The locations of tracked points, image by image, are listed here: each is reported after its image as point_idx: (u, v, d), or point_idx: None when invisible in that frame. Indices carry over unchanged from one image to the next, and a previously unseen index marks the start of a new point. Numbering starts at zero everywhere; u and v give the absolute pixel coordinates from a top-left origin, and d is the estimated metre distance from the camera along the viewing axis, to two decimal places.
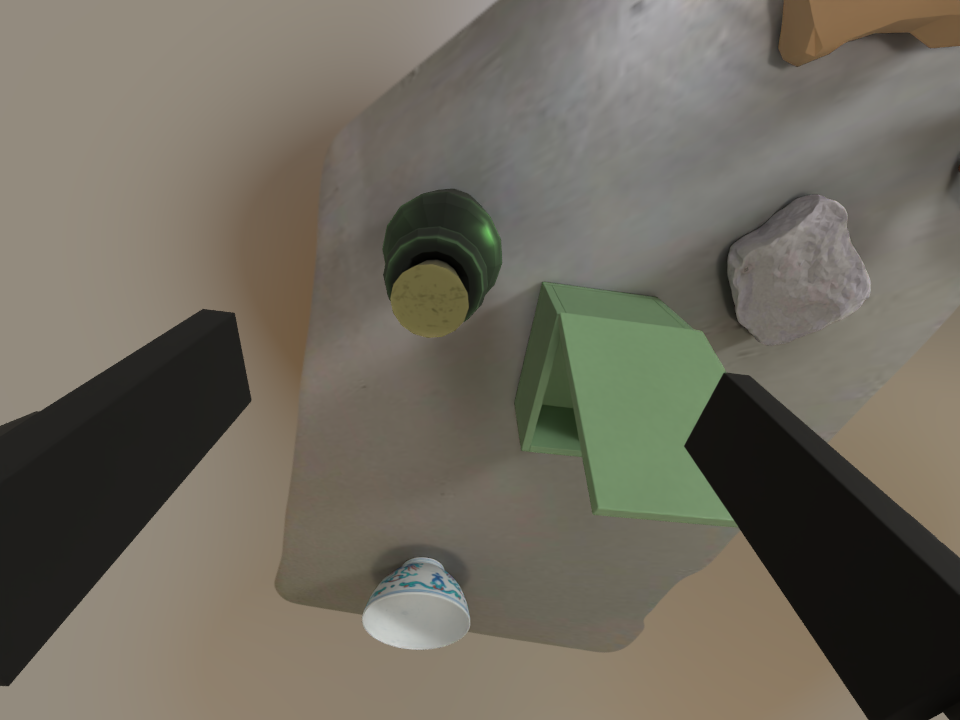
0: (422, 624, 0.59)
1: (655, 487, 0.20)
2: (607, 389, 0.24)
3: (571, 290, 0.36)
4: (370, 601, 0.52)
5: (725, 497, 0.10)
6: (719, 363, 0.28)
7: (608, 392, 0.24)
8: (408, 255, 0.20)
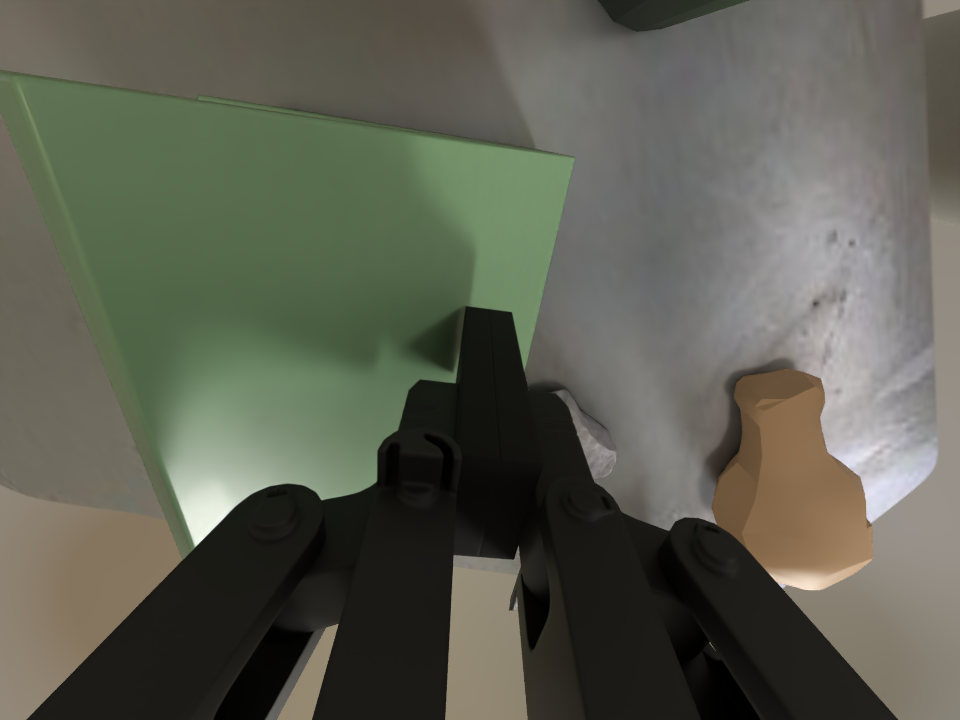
0: None
1: (233, 346, 0.06)
2: (464, 231, 0.11)
3: None
4: None
5: None
6: None
7: (459, 232, 0.10)
8: None
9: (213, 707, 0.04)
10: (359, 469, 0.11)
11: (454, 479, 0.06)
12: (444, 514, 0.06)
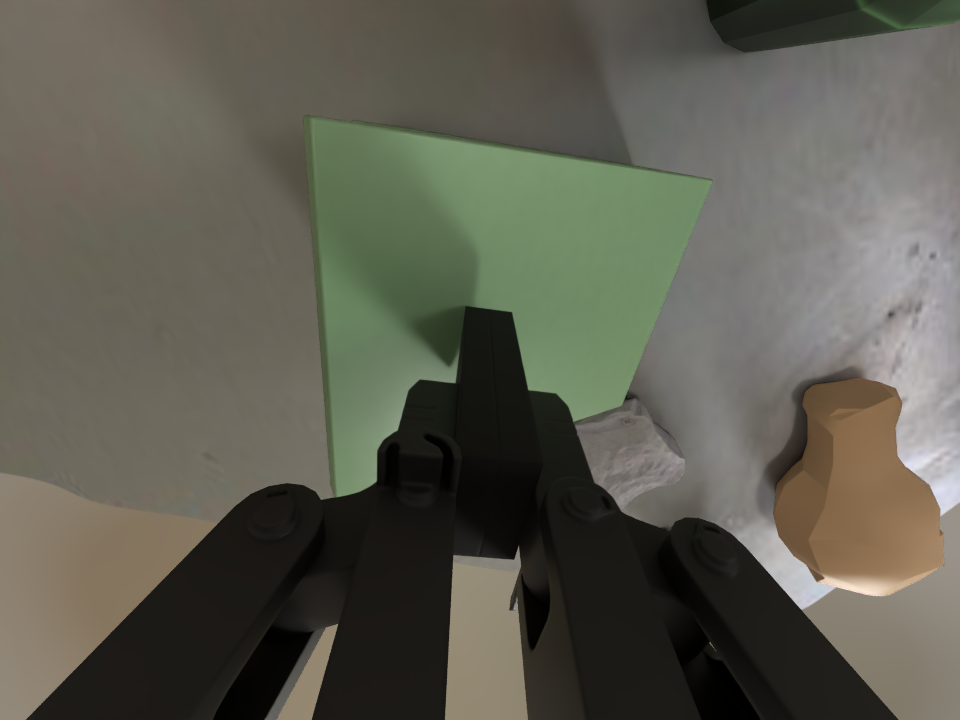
0: None
1: (376, 273, 0.10)
2: (566, 231, 0.13)
3: None
4: None
5: None
6: (575, 419, 0.19)
7: (560, 231, 0.13)
8: None
9: (213, 707, 0.04)
10: None
11: (454, 479, 0.06)
12: (444, 514, 0.06)
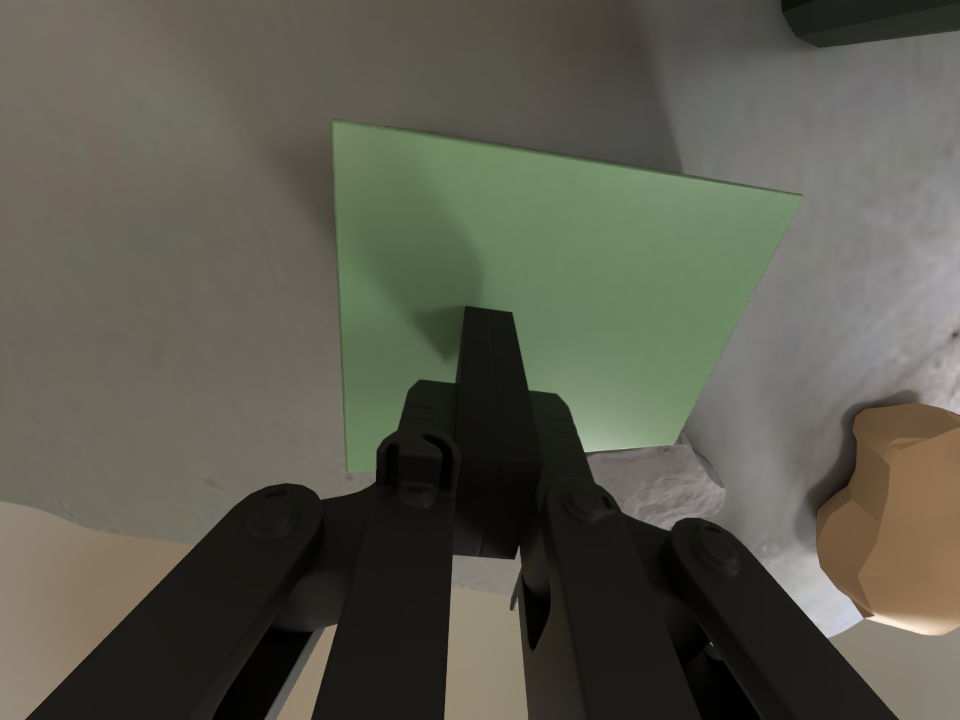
0: None
1: (388, 264, 0.11)
2: (598, 241, 0.12)
3: None
4: None
5: None
6: (611, 448, 0.18)
7: (591, 241, 0.12)
8: None
9: (211, 708, 0.04)
10: None
11: (453, 479, 0.06)
12: (443, 514, 0.06)
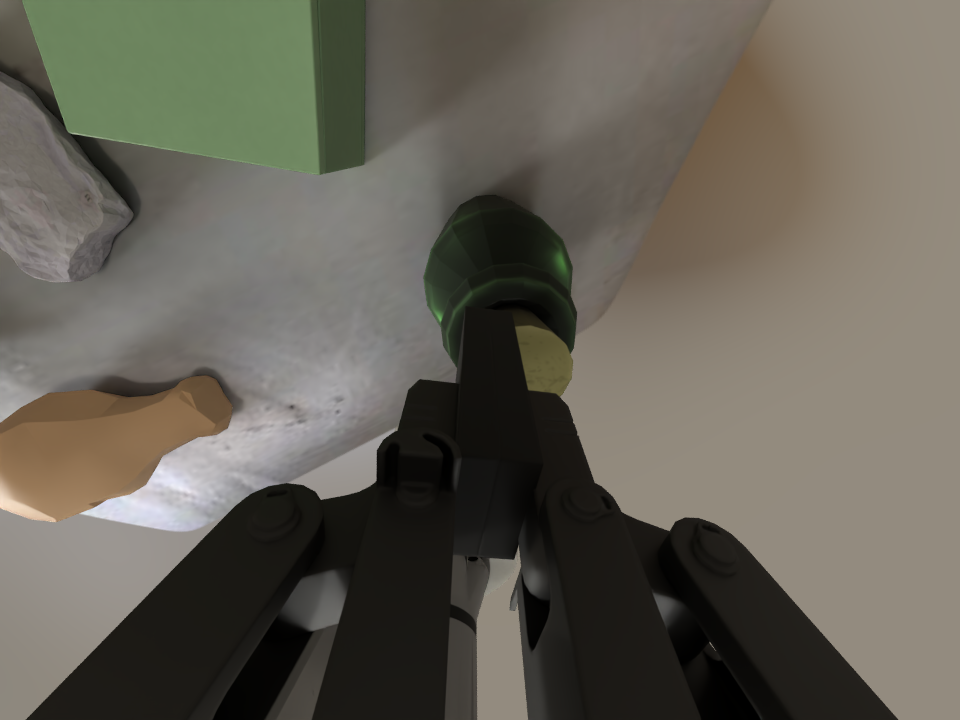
0: None
1: None
2: None
3: None
4: None
5: None
6: (36, 33, 0.16)
7: None
8: None
9: (213, 707, 0.04)
10: None
11: (454, 479, 0.06)
12: (444, 514, 0.06)
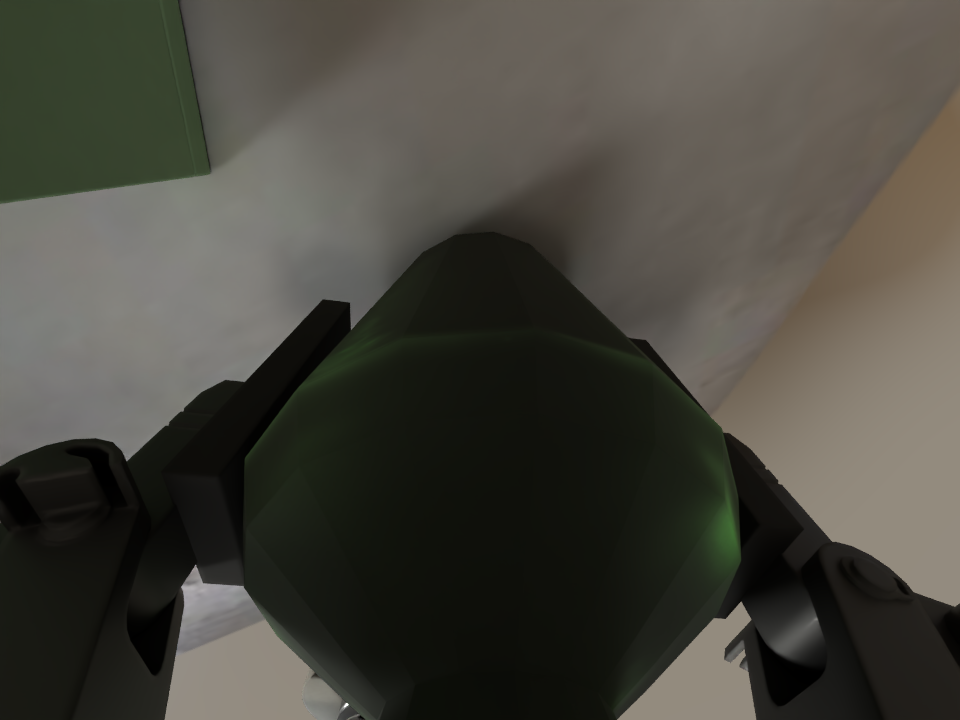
0: None
1: None
2: None
3: None
4: None
5: None
6: None
7: None
8: None
9: None
10: None
11: (126, 489, 0.05)
12: (114, 533, 0.05)
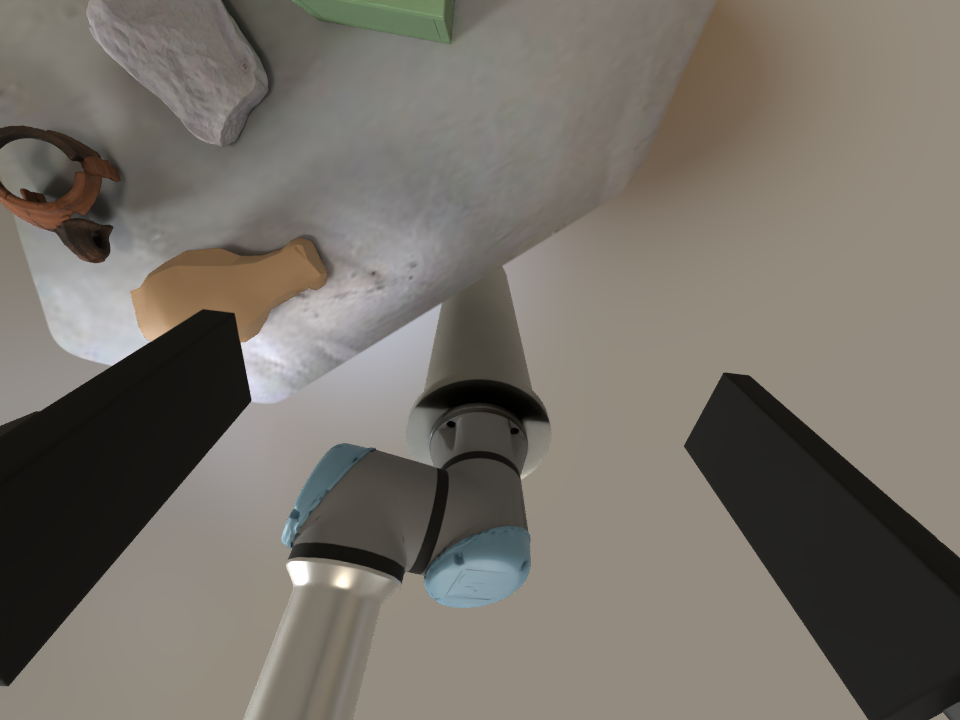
0: None
1: None
2: None
3: (419, 35, 0.33)
4: None
5: (725, 497, 0.10)
6: None
7: None
8: None
9: None
10: None
11: None
12: None
